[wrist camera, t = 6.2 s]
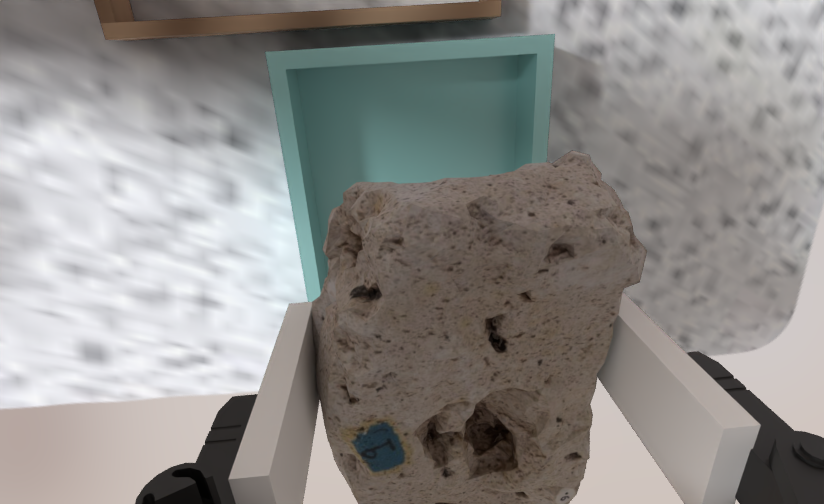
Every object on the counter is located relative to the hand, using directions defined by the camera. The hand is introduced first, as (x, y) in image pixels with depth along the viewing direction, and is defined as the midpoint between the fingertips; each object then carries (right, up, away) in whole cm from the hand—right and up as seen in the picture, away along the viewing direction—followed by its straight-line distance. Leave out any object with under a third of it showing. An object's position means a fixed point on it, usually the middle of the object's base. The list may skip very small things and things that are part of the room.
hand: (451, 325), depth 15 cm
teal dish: (-1, +6, +13) cm, 15 cm away
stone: (0, 0, +1) cm, 1 cm away
